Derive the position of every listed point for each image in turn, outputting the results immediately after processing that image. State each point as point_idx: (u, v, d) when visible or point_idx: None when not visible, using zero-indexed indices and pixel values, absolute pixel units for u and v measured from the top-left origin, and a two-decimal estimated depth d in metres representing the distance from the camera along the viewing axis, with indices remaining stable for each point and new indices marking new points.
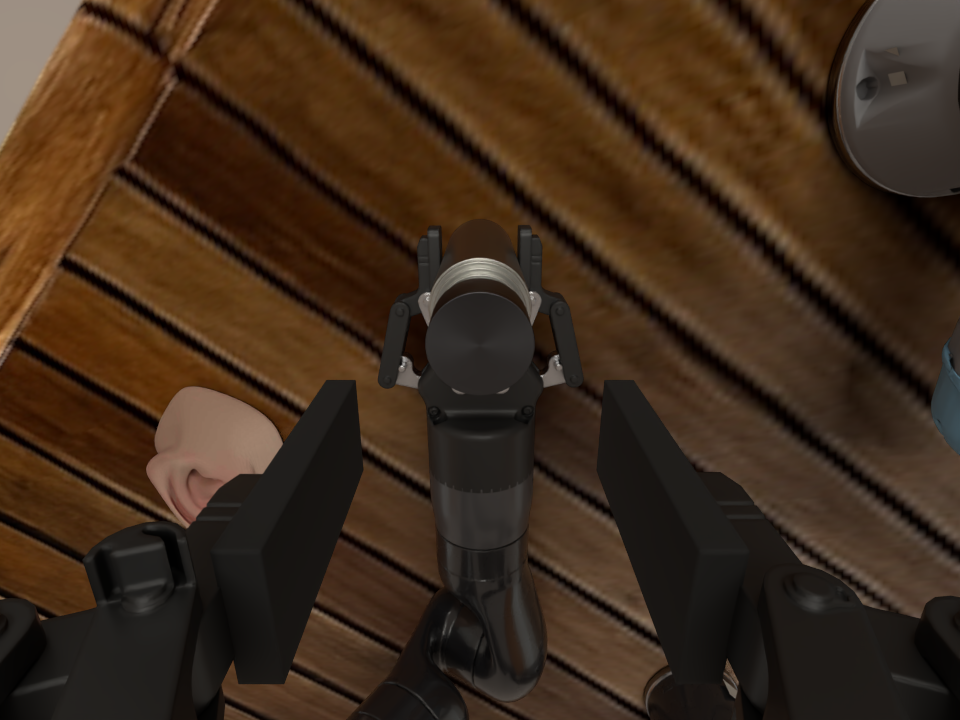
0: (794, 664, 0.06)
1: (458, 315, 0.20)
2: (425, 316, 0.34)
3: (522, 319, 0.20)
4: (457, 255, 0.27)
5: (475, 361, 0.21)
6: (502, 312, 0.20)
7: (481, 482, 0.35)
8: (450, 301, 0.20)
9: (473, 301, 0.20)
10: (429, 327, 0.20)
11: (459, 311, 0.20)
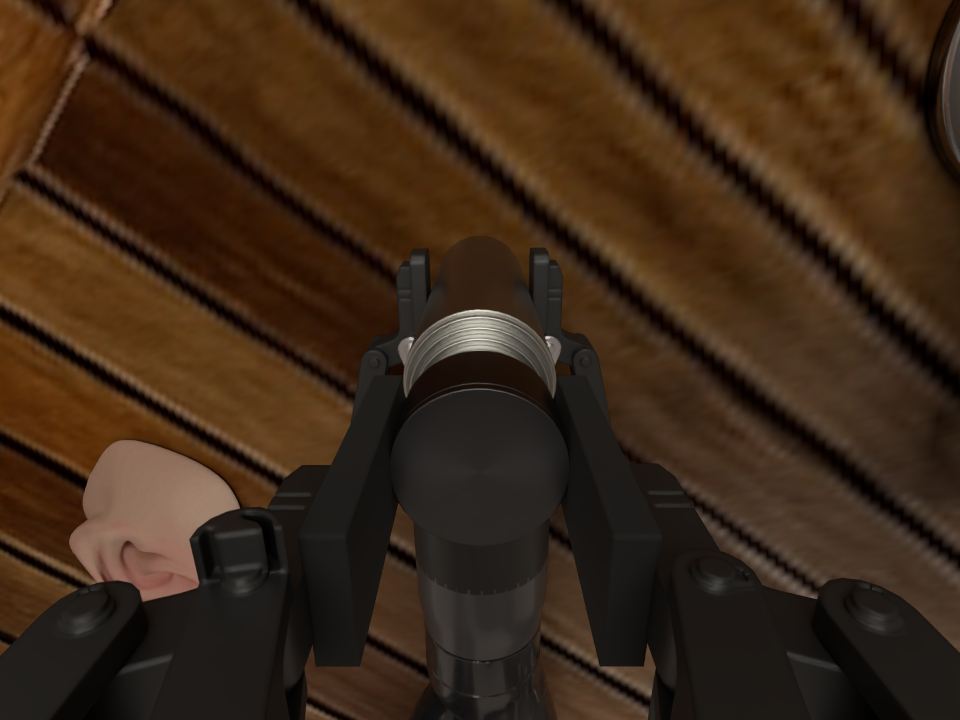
0: (698, 647, 0.07)
1: (443, 425, 0.12)
2: None
3: (551, 432, 0.12)
4: (447, 300, 0.19)
5: (471, 495, 0.13)
6: (517, 421, 0.12)
7: (481, 582, 0.27)
8: (429, 403, 0.12)
9: (468, 403, 0.12)
10: (394, 444, 0.12)
11: (445, 419, 0.12)
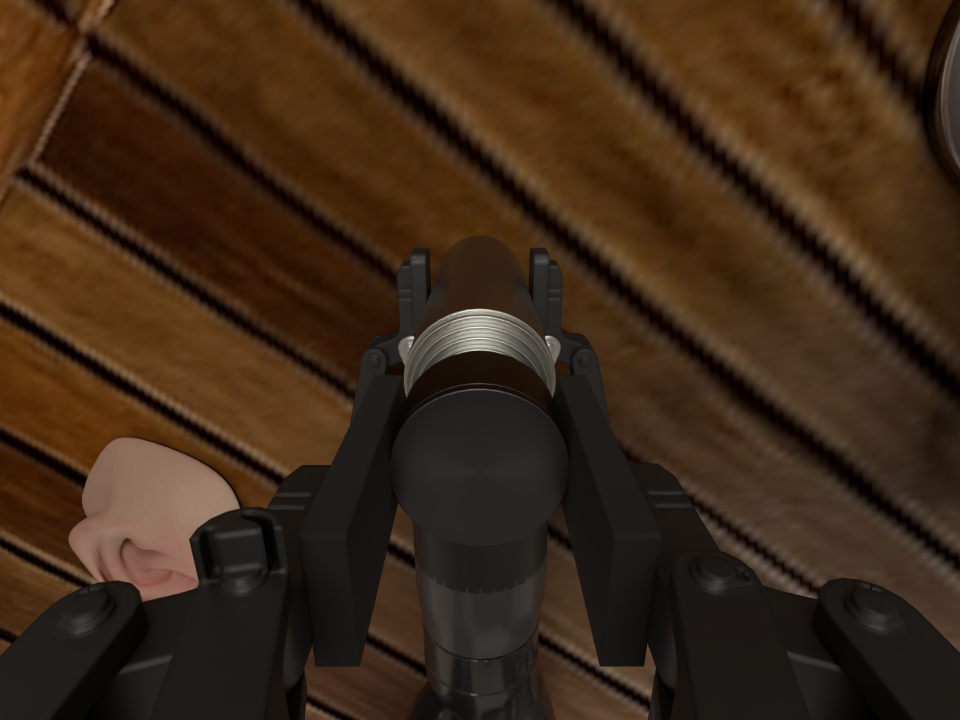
0: (698, 647, 0.07)
1: (442, 514, 0.13)
2: None
3: (411, 427, 0.12)
4: (447, 299, 0.19)
5: (509, 471, 0.12)
6: (413, 458, 0.12)
7: (480, 580, 0.27)
8: (426, 529, 0.13)
9: (413, 501, 0.13)
10: (476, 545, 0.13)
11: (436, 514, 0.13)
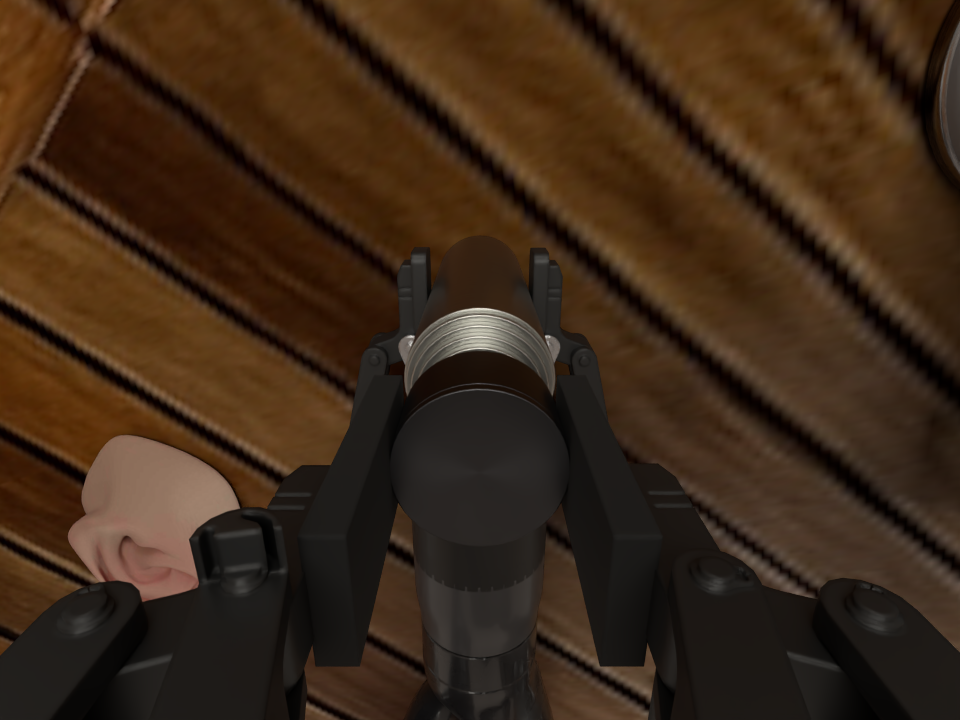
0: (698, 647, 0.07)
1: (538, 489, 0.13)
2: None
3: (454, 537, 0.13)
4: (448, 298, 0.19)
5: (468, 448, 0.12)
6: (485, 528, 0.13)
7: (479, 579, 0.27)
8: (561, 498, 0.13)
9: (532, 517, 0.13)
10: (566, 450, 0.12)
11: (540, 494, 0.13)
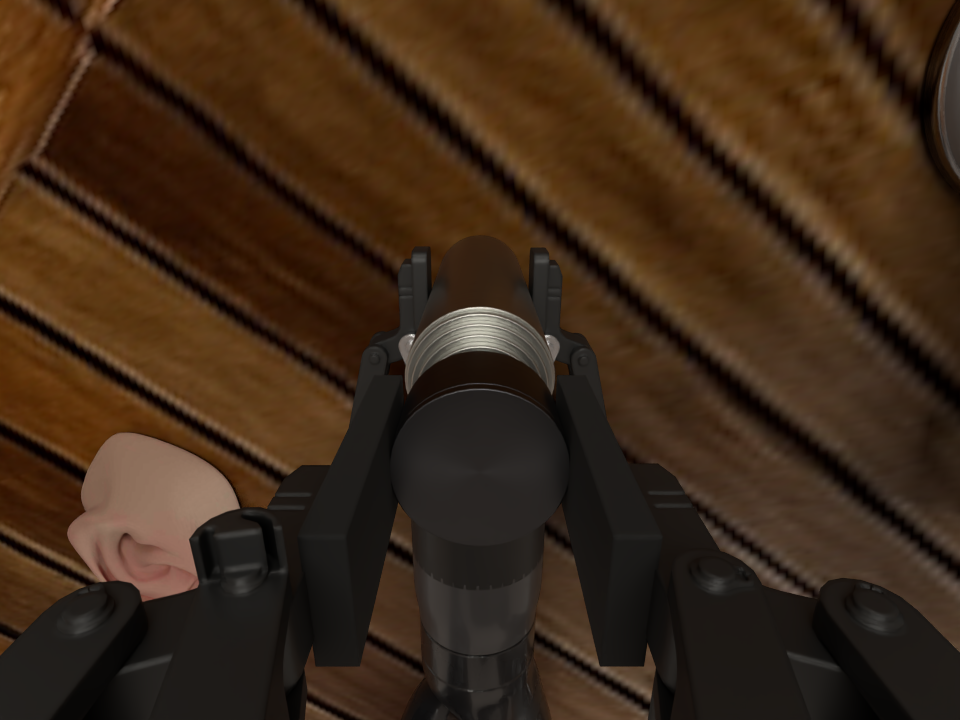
0: (698, 647, 0.07)
1: (479, 416, 0.12)
2: None
3: (563, 473, 0.12)
4: (448, 297, 0.19)
5: (457, 488, 0.13)
6: (543, 448, 0.12)
7: (477, 577, 0.27)
8: (481, 390, 0.12)
9: (514, 410, 0.12)
10: (425, 407, 0.12)
11: (484, 411, 0.12)
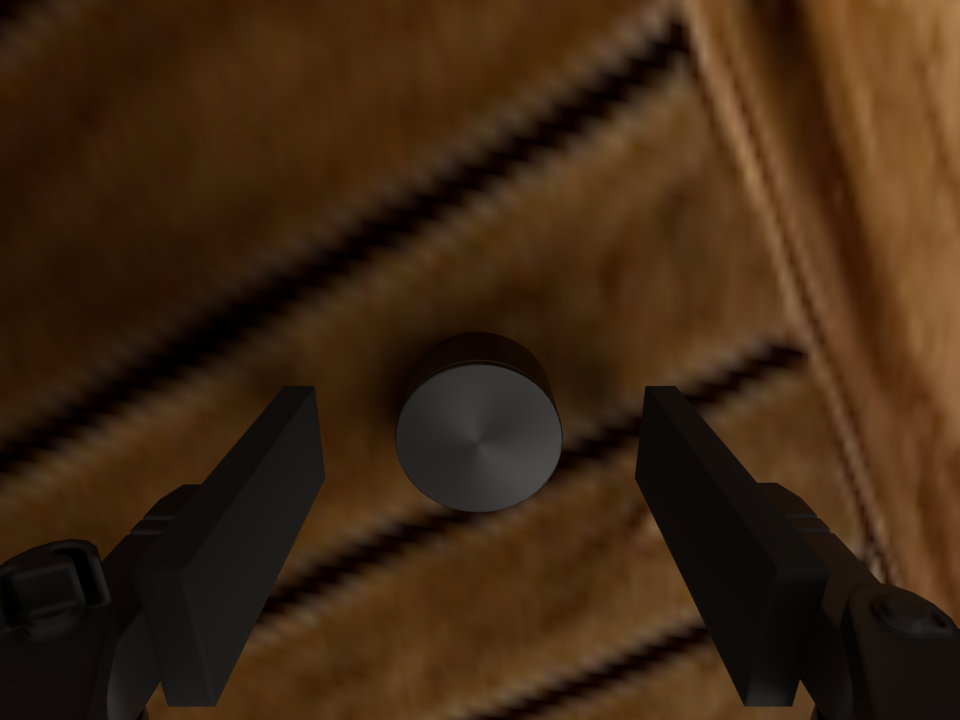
0: (884, 687, 0.06)
1: (478, 390, 0.13)
2: None
3: (555, 443, 0.14)
4: None
5: (458, 457, 0.14)
6: (536, 420, 0.13)
7: None
8: (480, 366, 0.13)
9: (510, 384, 0.13)
10: (429, 381, 0.13)
11: (483, 385, 0.13)
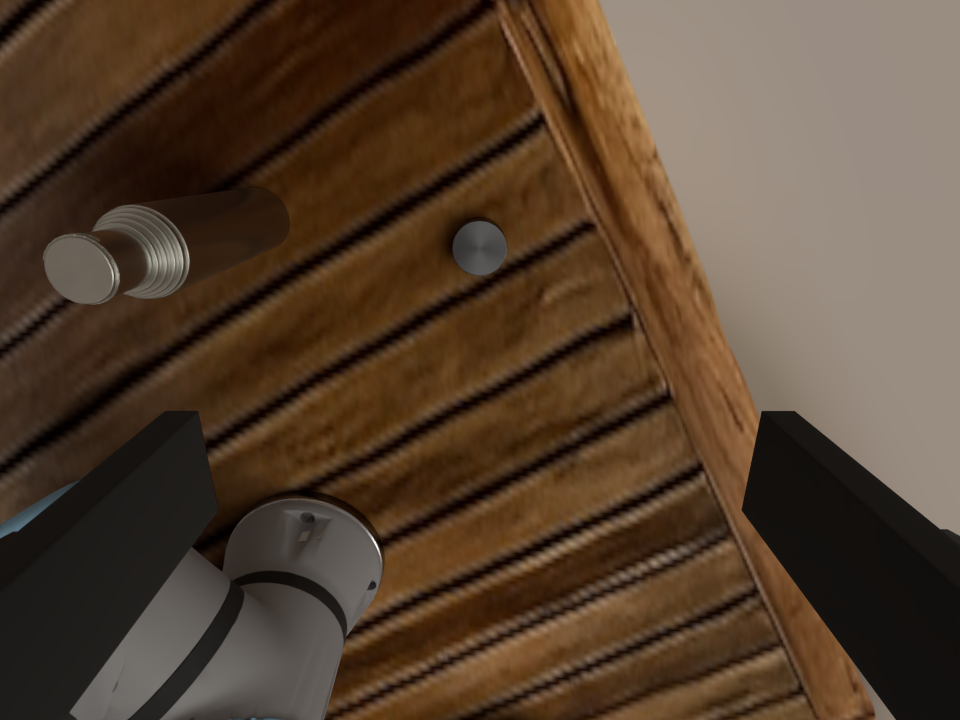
0: None
1: (479, 229, 0.41)
2: None
3: (504, 248, 0.42)
4: (206, 241, 0.30)
5: (472, 254, 0.42)
6: (498, 240, 0.41)
7: None
8: (480, 221, 0.41)
9: (489, 227, 0.41)
10: (463, 226, 0.41)
11: (480, 228, 0.41)
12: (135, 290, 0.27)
